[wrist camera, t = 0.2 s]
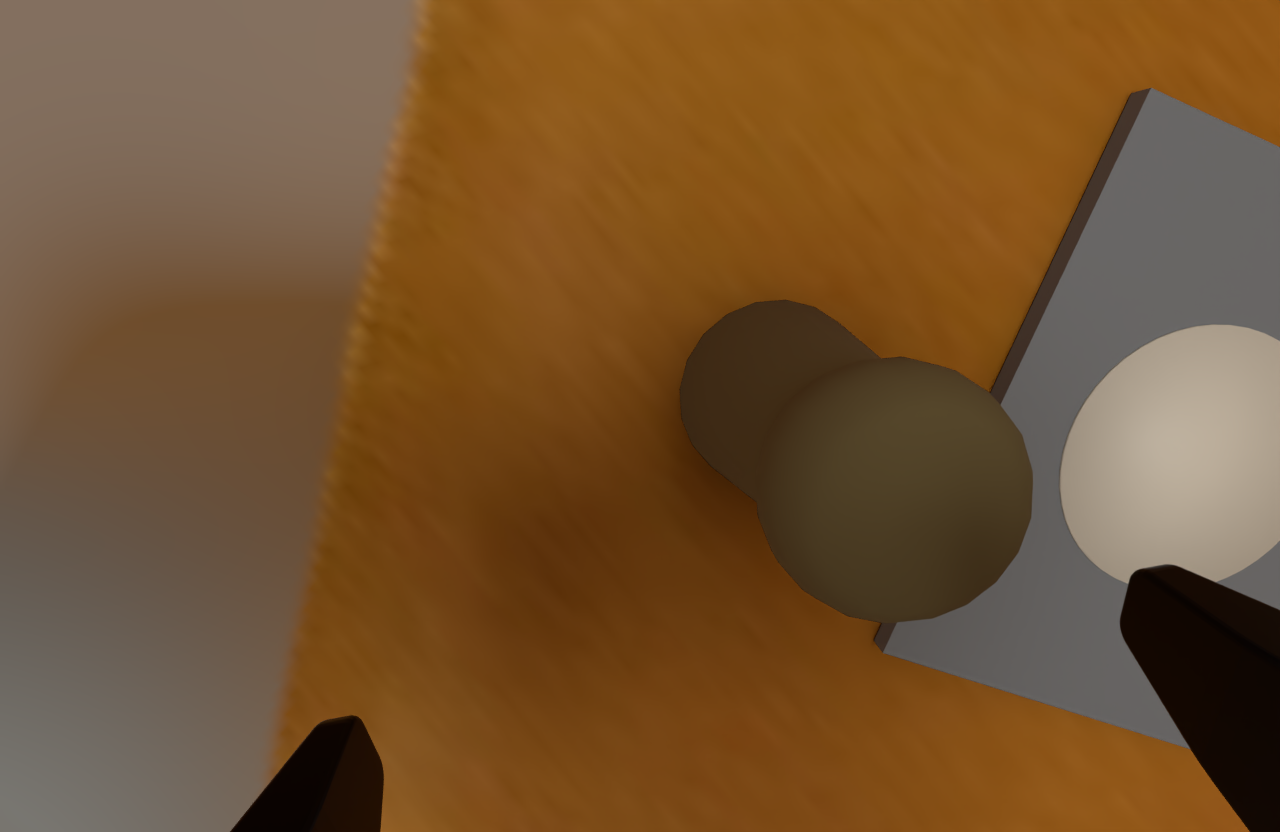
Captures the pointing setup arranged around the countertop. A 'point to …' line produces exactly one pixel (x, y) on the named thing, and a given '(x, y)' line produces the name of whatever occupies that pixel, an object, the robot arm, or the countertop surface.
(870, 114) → the countertop surface
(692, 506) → the countertop surface
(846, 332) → the olive rounded peg
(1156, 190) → the board
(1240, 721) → the robot arm
